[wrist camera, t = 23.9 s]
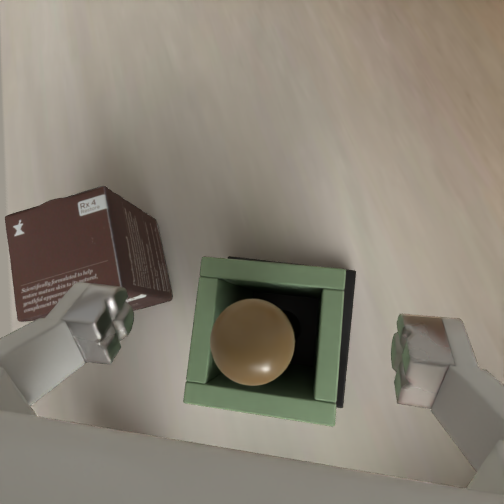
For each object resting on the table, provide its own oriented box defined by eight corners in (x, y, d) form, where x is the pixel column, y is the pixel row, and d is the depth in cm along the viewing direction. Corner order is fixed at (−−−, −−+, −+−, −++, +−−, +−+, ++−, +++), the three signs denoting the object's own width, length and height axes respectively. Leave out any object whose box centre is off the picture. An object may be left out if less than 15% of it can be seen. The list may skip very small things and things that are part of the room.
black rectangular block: (353, 273, 24) (409, 216, 10) (341, 402, 23) (384, 537, 9) (232, 259, 26) (136, 192, 12) (215, 380, 24) (85, 468, 11)
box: (94, 321, 26) (13, 324, 19) (81, 240, 28) (0, 214, 20) (176, 300, 26) (123, 294, 19) (159, 217, 27) (103, 182, 20)
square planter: (333, 286, 23) (346, 268, 14) (326, 382, 22) (334, 427, 13) (242, 277, 24) (201, 256, 15) (232, 369, 23) (182, 403, 14)
